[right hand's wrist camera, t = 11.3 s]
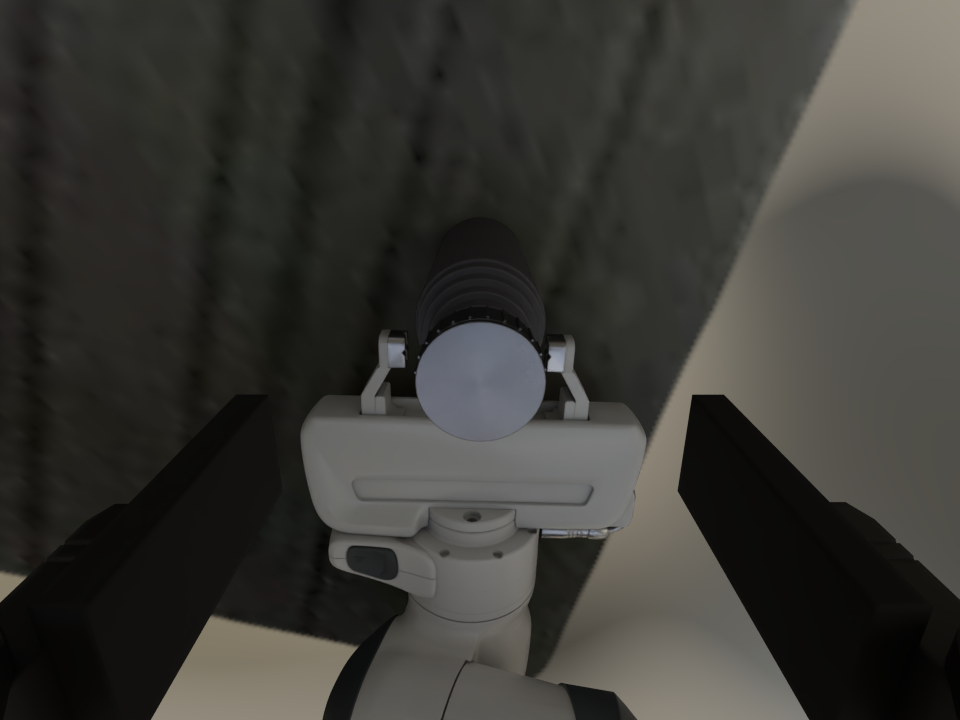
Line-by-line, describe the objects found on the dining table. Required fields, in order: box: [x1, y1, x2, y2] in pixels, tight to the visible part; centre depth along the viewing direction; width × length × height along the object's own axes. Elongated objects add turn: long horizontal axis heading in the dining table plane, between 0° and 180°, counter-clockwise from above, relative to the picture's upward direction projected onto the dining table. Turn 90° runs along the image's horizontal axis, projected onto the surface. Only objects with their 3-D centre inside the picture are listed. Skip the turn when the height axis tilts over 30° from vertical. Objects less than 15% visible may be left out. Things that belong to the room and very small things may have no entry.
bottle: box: [415, 218, 546, 348], centre depth 27 cm, size 6×5×20 cm
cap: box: [414, 306, 546, 442], centre depth 18 cm, size 4×4×2 cm
